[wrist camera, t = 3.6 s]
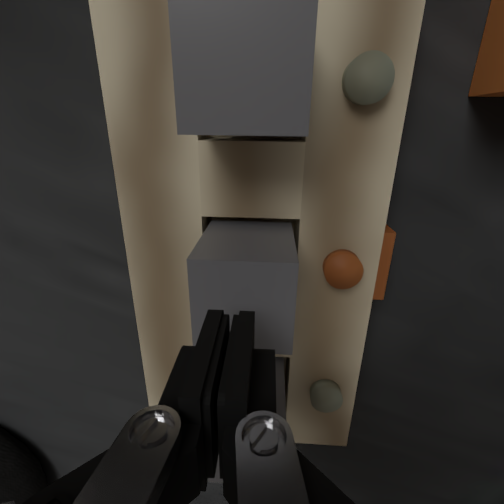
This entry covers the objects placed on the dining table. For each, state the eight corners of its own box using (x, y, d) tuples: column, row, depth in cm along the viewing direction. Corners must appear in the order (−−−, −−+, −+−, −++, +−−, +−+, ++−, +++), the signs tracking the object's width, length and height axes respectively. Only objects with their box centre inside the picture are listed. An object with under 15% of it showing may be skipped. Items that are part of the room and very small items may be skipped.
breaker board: (411, -23, 16) (466, -82, 11) (343, 400, 26) (357, 457, 22) (123, -20, 16) (66, -74, 12) (169, 390, 27) (149, 443, 22)
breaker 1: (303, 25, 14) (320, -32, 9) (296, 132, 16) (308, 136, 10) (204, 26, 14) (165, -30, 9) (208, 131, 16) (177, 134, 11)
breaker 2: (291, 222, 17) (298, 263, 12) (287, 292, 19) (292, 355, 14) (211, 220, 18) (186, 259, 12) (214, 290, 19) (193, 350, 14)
